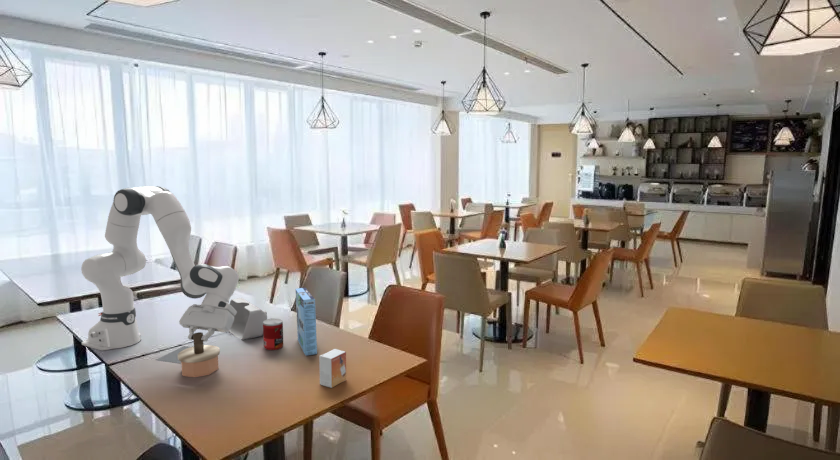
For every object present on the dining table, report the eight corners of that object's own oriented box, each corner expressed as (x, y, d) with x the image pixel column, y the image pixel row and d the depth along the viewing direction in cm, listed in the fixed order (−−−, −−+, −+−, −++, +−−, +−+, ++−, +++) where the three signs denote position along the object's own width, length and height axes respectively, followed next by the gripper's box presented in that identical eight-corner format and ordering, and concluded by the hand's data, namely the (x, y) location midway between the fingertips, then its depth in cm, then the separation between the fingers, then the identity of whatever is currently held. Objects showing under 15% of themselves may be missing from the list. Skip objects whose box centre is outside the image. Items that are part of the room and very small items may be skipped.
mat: (155, 360, 186) (155, 359, 186) (183, 346, 201) (183, 345, 200) (187, 365, 182) (187, 364, 182) (214, 350, 197) (214, 349, 197)
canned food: (278, 351, 197) (277, 325, 195) (260, 349, 198) (259, 323, 197) (286, 344, 204) (286, 319, 203) (269, 342, 206) (268, 317, 204)
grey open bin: (277, 333, 217) (276, 306, 216) (241, 341, 207) (240, 313, 205) (256, 319, 236) (255, 294, 235) (222, 326, 226) (221, 300, 225)
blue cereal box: (317, 354, 194) (315, 298, 191) (304, 356, 192) (302, 300, 189) (308, 338, 211) (307, 287, 208) (296, 339, 209) (295, 288, 206)
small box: (331, 388, 164) (330, 359, 163) (319, 384, 167) (318, 355, 166) (347, 379, 171) (346, 351, 170) (335, 376, 174) (334, 348, 173)
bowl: (174, 375, 174) (173, 359, 173) (197, 362, 185) (197, 347, 184) (202, 379, 171) (201, 363, 170) (224, 365, 182) (224, 350, 181)
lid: (168, 360, 172) (167, 338, 171) (196, 345, 186) (195, 325, 185) (202, 364, 169) (200, 342, 168) (228, 349, 182) (226, 329, 181)
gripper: (186, 299, 184) (168, 333, 176) (232, 304, 179) (216, 339, 171) (195, 307, 189) (178, 340, 181) (240, 312, 183) (225, 346, 175)
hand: (197, 339), depth 176 cm, fingers open, 4 cm apart
